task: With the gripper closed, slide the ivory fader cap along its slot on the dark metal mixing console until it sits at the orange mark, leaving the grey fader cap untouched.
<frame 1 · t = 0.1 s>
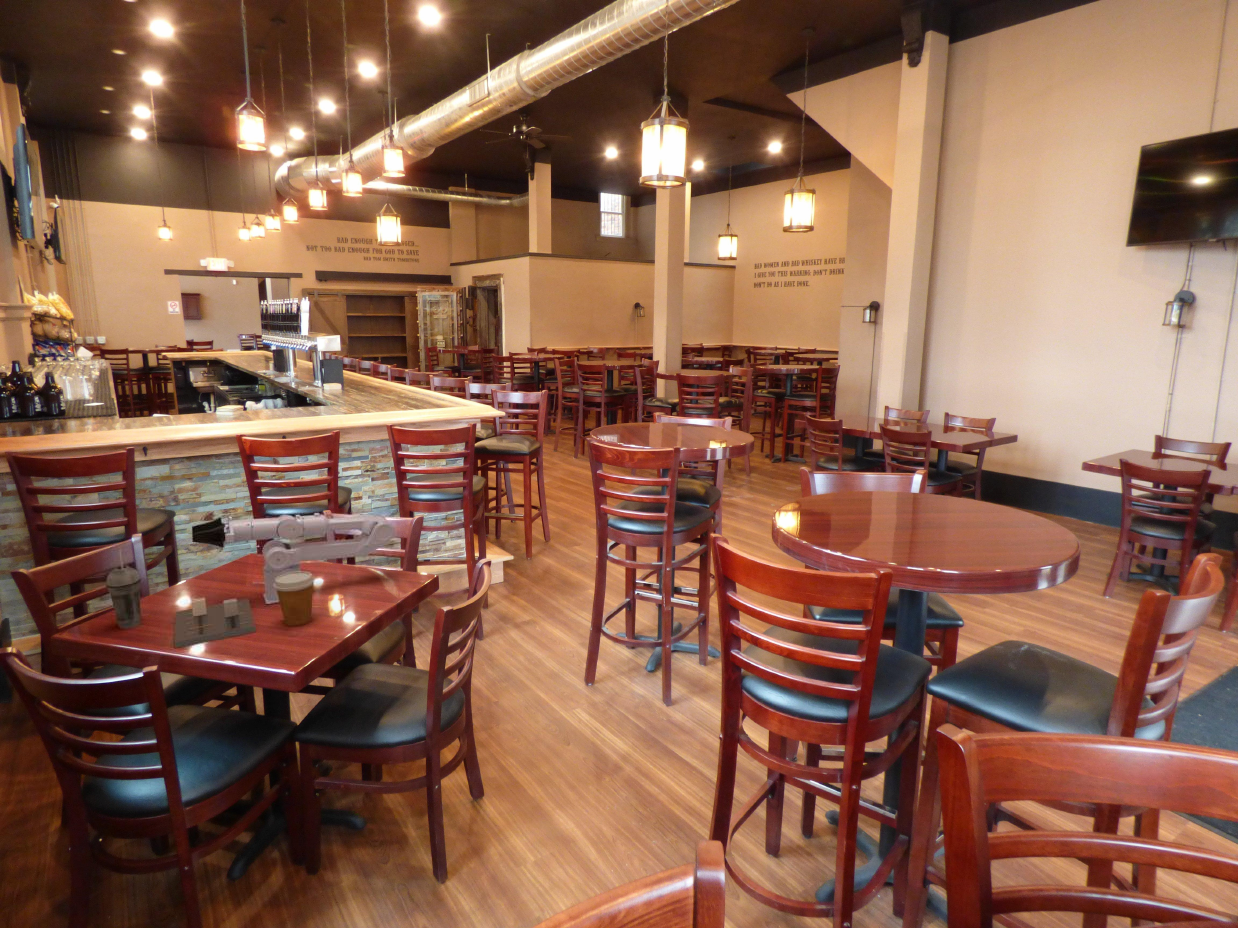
hand: (192, 534, 183), 22 cm above the table, tool horizontal, fingers open, 7 cm apart
mixing console: (214, 624, 179), on the table
fader cap ivory: (199, 606, 181), point 4 cm above the table, slide at -5.0 cm
fader cap grey: (230, 607, 181), point 4 cm above the table, slide at 0.0 cm
beverage cup: (130, 625, 179), on the table
disposable coffee cup: (298, 621, 181), on the table
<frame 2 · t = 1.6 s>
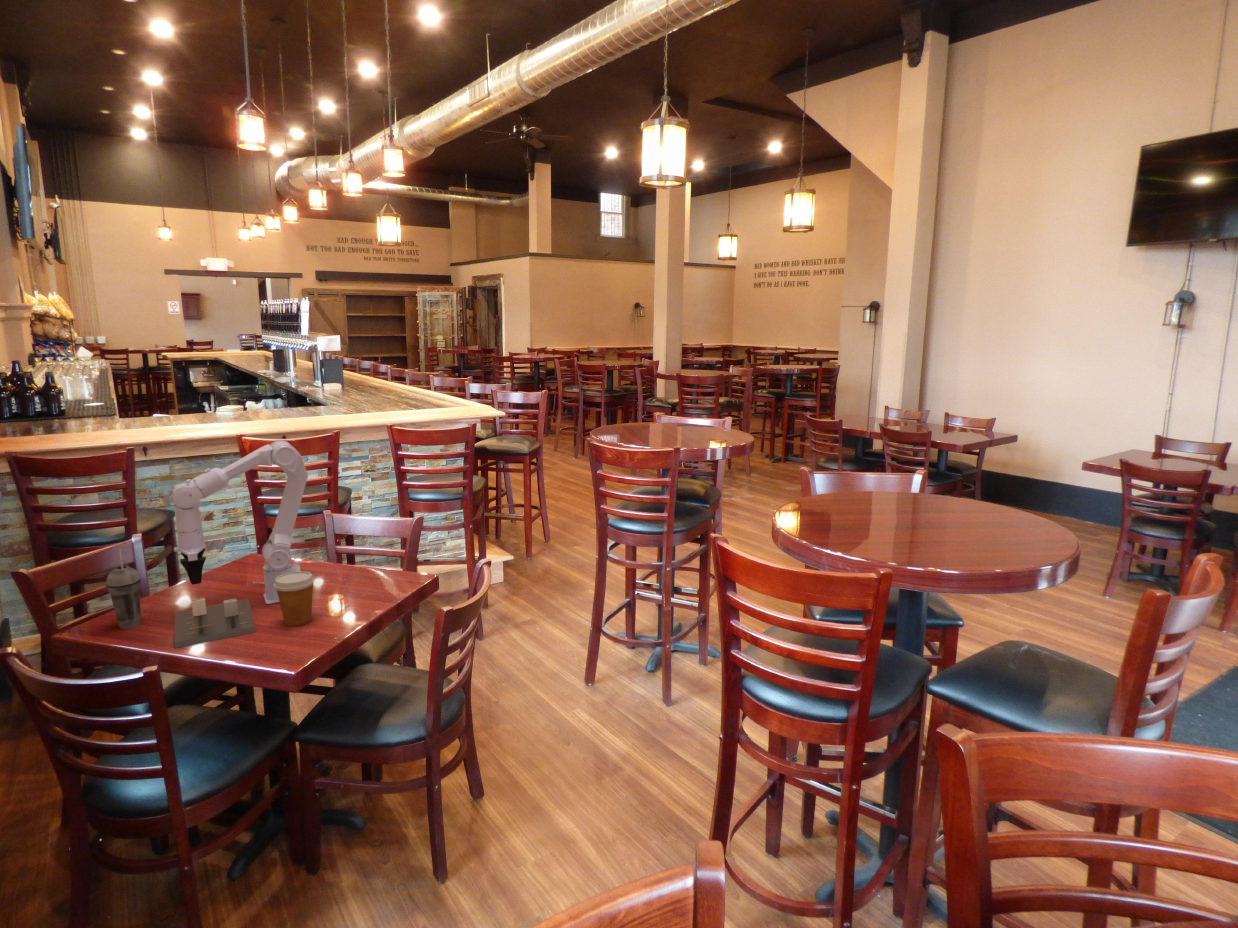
hand: (196, 579, 185), 9 cm above the table, tool pointing down, fingers open, 7 cm apart
nothing on the table moved.
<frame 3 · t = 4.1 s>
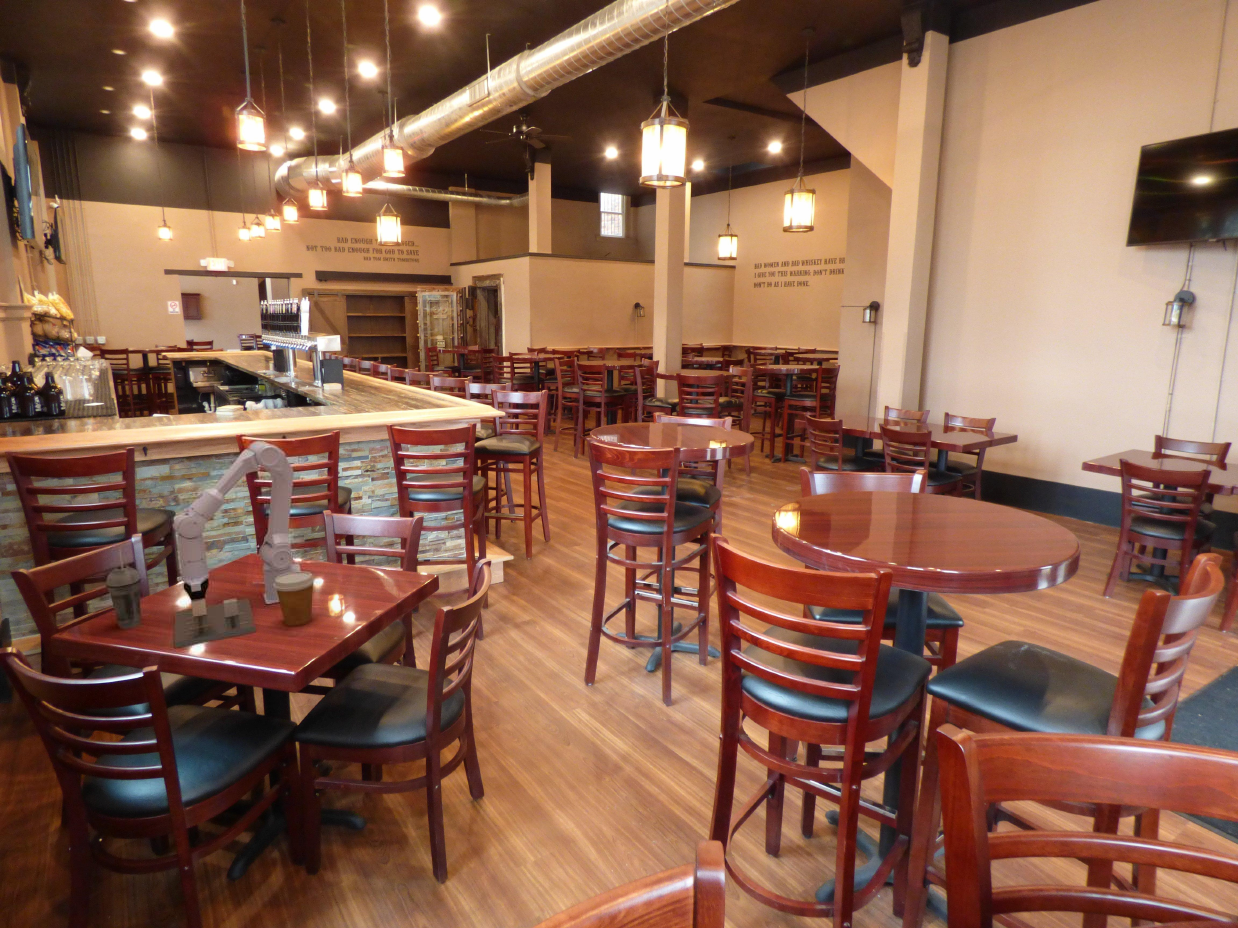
hand: (199, 608, 183), 2 cm above the table, tool pointing down, fingers closed
fader cap ivory: (199, 607, 181), point 4 cm above the table, slide at -4.8 cm, touching gripper
everything else where it was.
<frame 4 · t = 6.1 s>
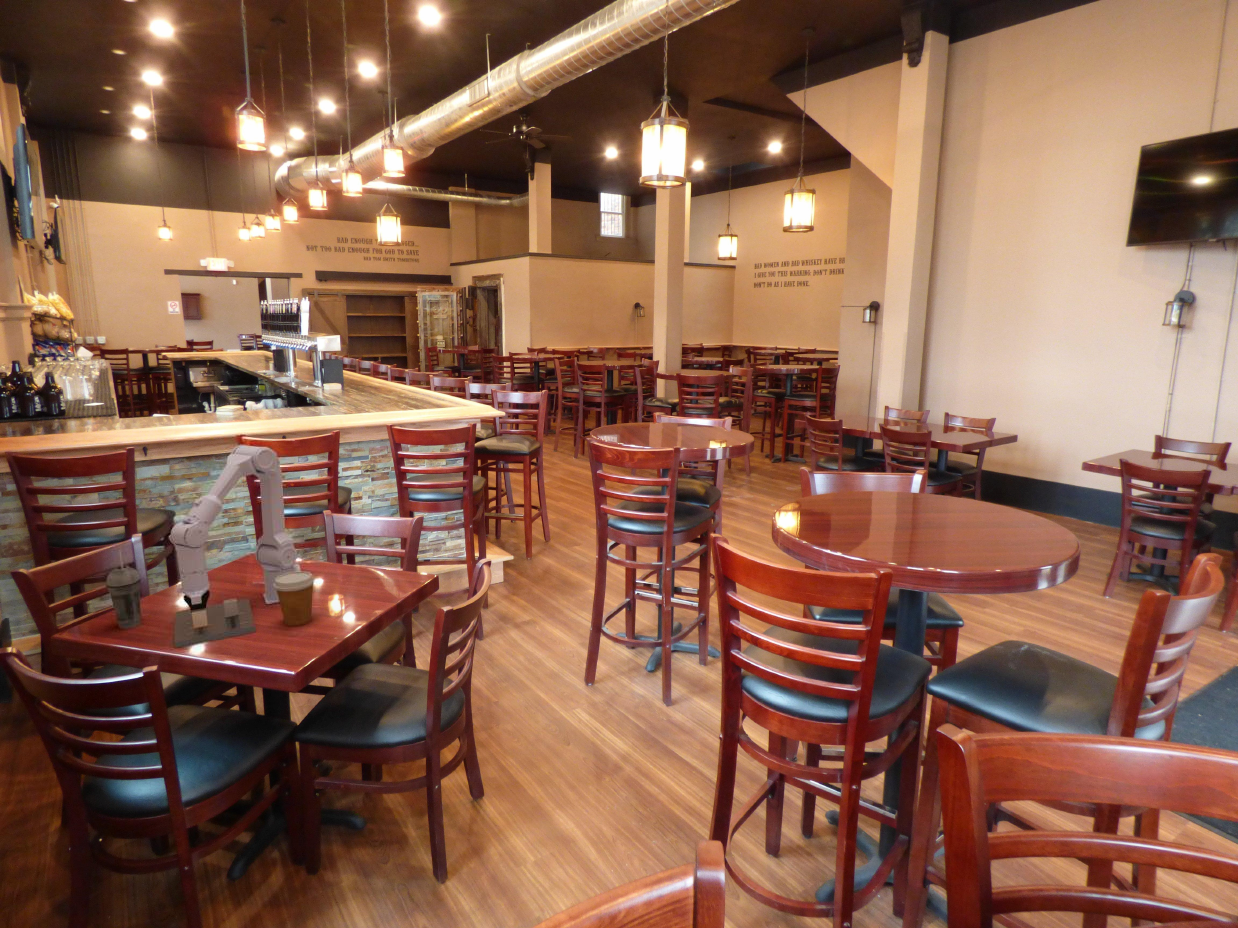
hand: (200, 620, 176), 2 cm above the table, tool pointing down, fingers closed, pressing on fader cap ivory
fader cap ivory: (199, 617, 174), point 4 cm above the table, slide at 3.0 cm, touching gripper, mixing console
everything else where it was.
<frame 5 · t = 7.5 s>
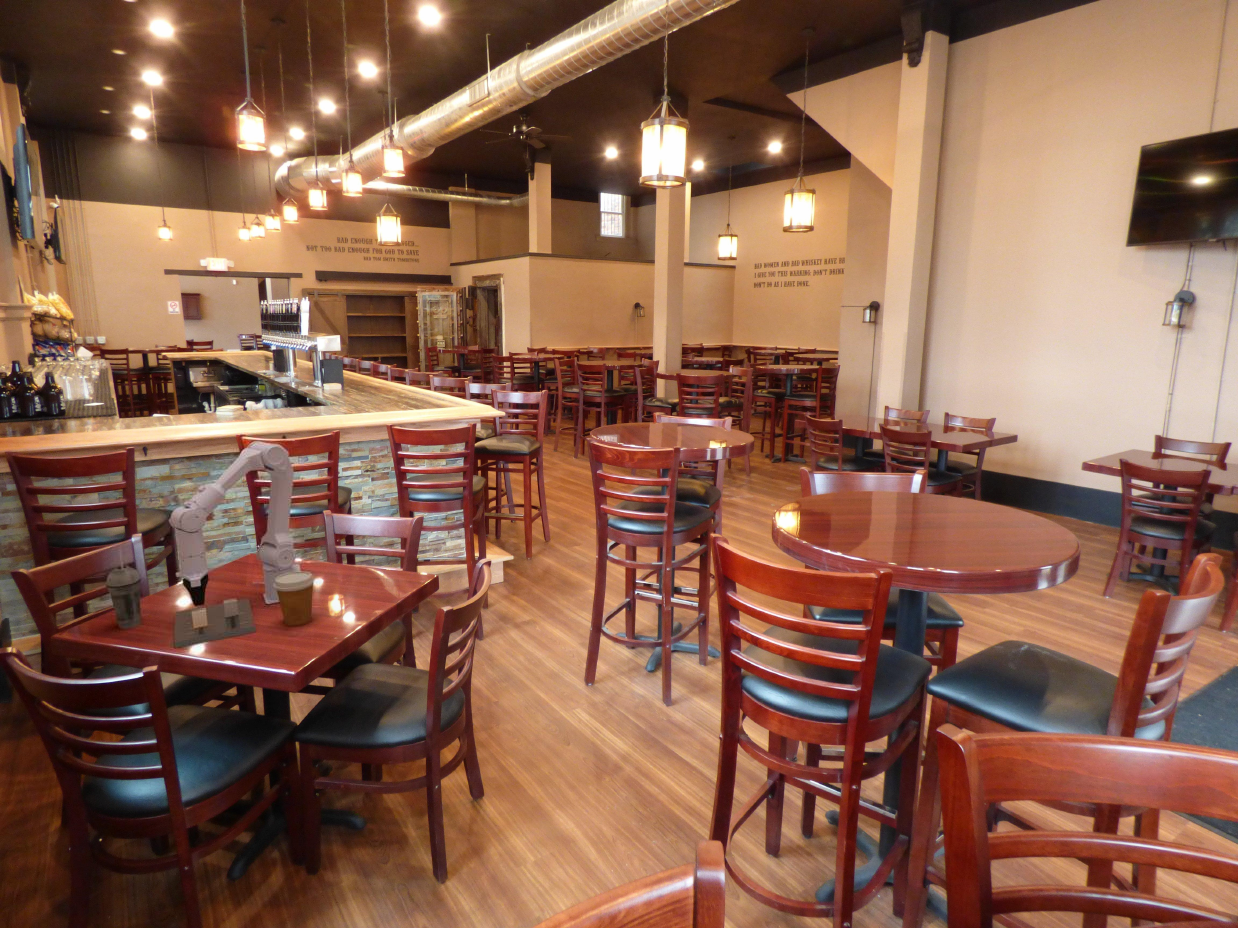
hand: (199, 604, 179), 5 cm above the table, tool pointing down, fingers closed
fader cap ivory: (199, 617, 174), point 4 cm above the table, slide at 3.0 cm, touching mixing console
everything else where it was.
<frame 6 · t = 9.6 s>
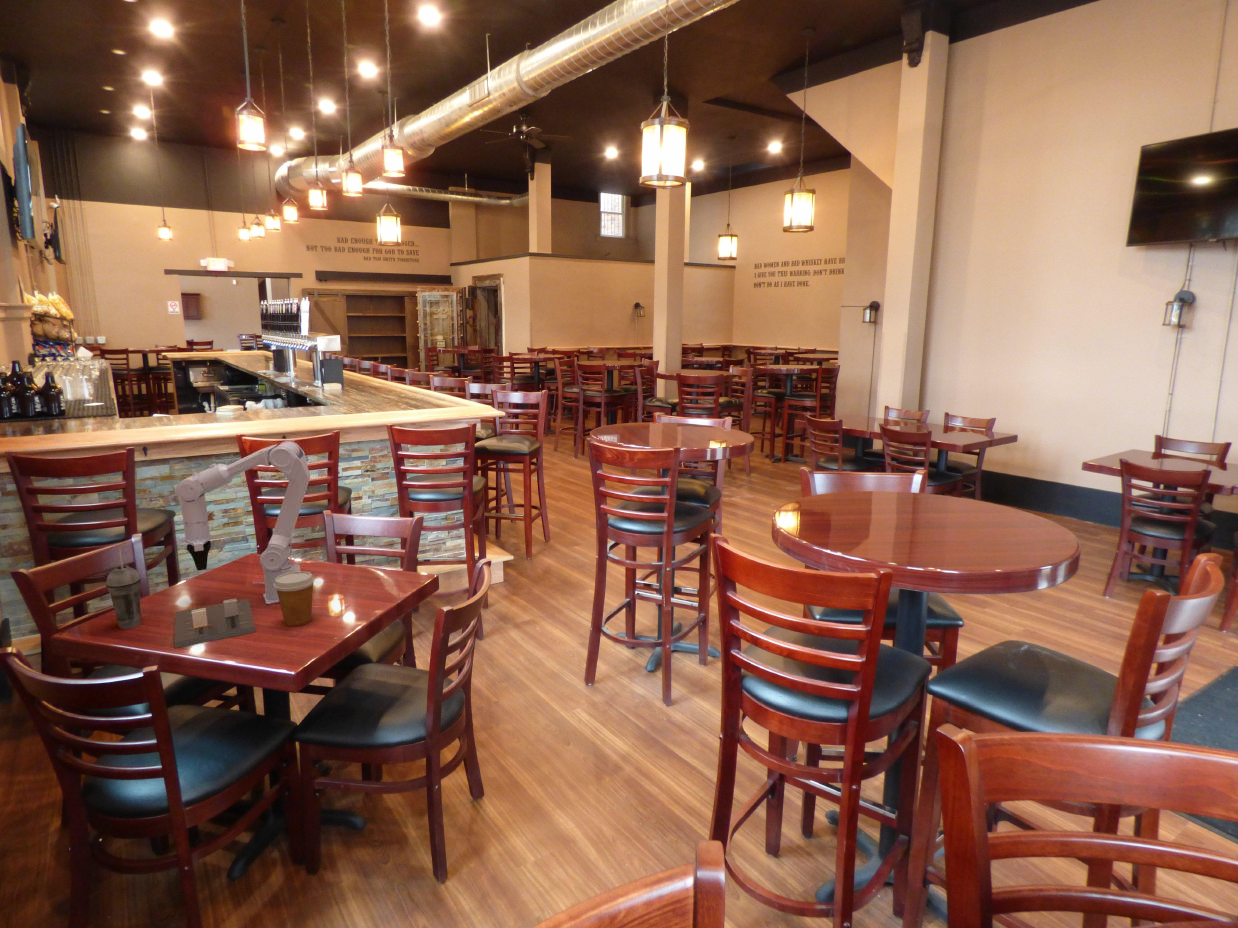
hand: (201, 569, 191), 10 cm above the table, tool pointing down, fingers closed
nothing on the table moved.
at the end: fader cap ivory slide at 3.0 cm; fader cap grey slide at 0.0 cm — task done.
